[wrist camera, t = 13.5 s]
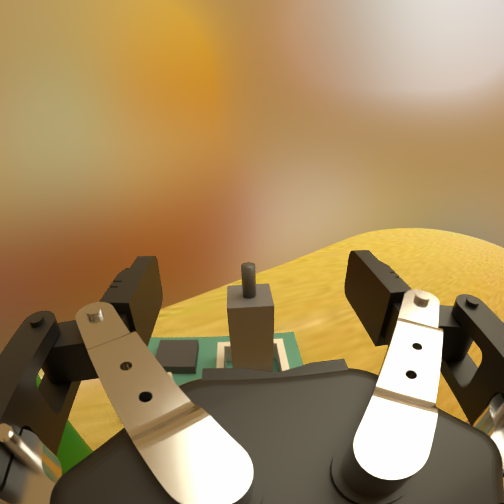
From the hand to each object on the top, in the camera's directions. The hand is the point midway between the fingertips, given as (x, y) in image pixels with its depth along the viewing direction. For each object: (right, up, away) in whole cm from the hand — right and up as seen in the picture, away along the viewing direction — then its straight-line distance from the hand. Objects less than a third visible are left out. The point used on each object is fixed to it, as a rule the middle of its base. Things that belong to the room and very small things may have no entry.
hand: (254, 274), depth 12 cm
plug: (0, -13, +19) cm, 23 cm away
